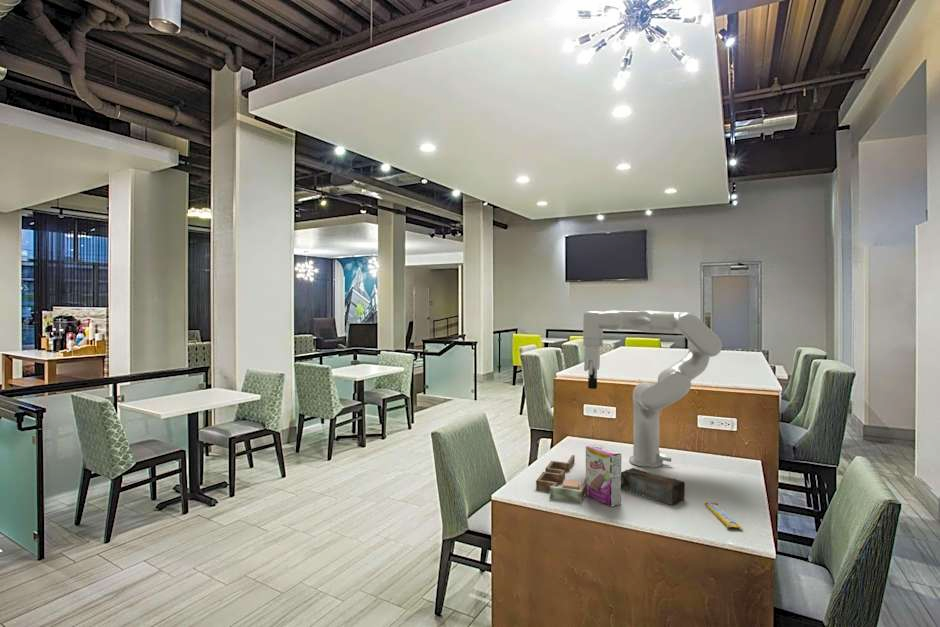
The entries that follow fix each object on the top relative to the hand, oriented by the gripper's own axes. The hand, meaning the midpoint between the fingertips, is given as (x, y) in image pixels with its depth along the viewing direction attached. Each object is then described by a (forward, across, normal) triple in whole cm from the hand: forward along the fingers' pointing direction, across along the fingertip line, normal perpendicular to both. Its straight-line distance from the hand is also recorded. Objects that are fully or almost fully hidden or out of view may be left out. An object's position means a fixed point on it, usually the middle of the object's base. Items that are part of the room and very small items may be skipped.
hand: (592, 388), depth 197 cm
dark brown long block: (+30, +27, +23) cm, 46 cm away
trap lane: (+29, +24, -5) cm, 38 cm away
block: (+29, +37, -1) cm, 47 cm away
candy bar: (+30, +38, +43) cm, 65 cm away
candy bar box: (+29, +38, +9) cm, 49 cm away
